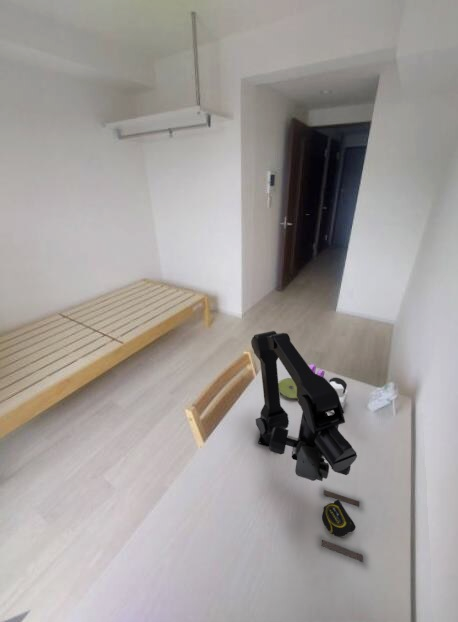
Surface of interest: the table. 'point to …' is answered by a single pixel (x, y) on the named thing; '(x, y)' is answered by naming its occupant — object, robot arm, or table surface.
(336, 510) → the tape measure
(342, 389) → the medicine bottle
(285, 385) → the olive green disc
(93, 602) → the table surface
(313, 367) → the bracket
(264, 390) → the robot arm
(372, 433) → the table surface
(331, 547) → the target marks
